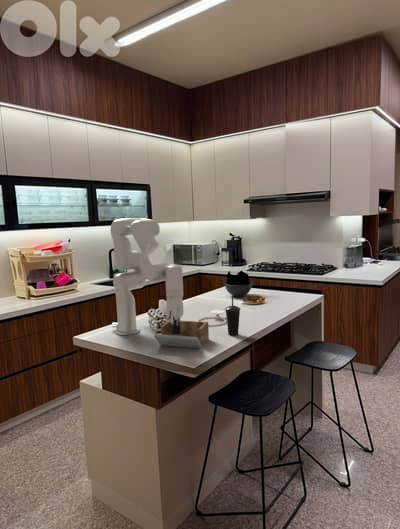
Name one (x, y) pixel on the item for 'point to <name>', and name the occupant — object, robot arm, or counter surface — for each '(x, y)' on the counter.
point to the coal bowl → (238, 284)
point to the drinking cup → (232, 319)
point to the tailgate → (178, 341)
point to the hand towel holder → (215, 317)
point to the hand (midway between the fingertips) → (176, 333)
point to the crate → (189, 330)
